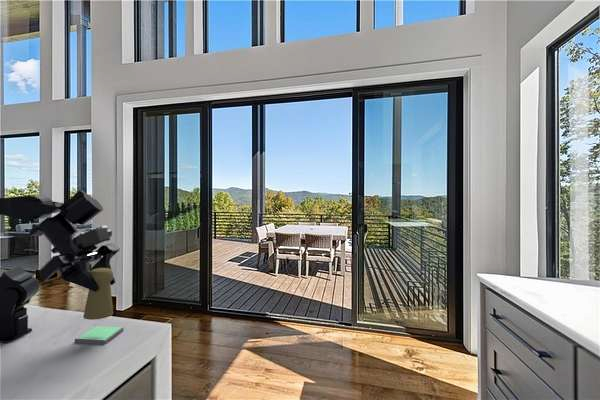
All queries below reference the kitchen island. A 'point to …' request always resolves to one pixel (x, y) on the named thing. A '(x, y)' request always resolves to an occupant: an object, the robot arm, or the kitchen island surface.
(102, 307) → the cork
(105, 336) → the plate
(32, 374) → the kitchen island surface
